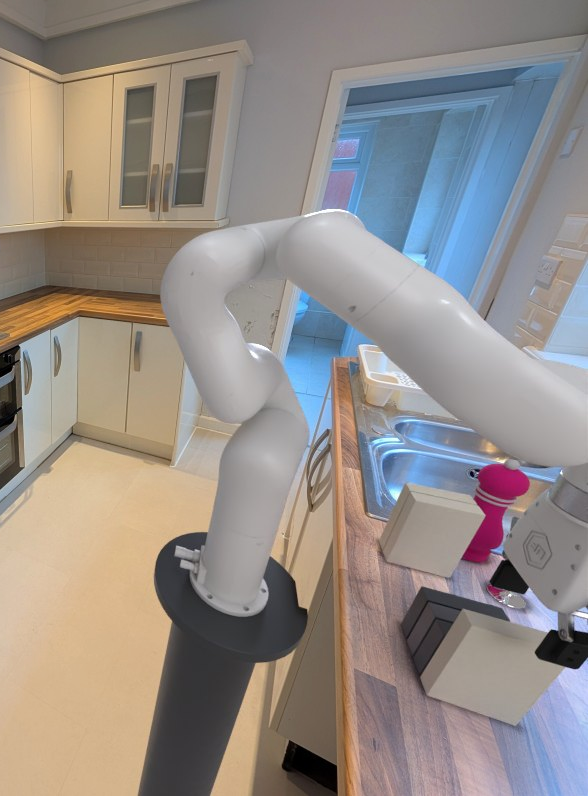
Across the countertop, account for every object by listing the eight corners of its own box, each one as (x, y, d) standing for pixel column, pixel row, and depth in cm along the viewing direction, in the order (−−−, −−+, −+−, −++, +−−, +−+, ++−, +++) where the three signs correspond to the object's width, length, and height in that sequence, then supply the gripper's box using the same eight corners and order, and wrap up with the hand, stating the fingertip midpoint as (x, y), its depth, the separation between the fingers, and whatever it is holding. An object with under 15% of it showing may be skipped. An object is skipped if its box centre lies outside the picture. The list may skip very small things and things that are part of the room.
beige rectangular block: (386, 561, 76) (415, 500, 70) (378, 541, 81) (405, 481, 75) (449, 578, 73) (486, 515, 67) (437, 555, 77) (470, 495, 71)
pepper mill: (447, 557, 77) (498, 467, 68) (431, 530, 83) (475, 444, 74) (499, 569, 74) (558, 478, 66) (478, 540, 81) (529, 453, 72)
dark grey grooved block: (418, 675, 59) (443, 635, 55) (400, 624, 65) (421, 585, 62) (504, 703, 55) (536, 663, 52) (475, 647, 62) (502, 607, 58)
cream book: (426, 695, 56) (471, 625, 50) (419, 677, 58) (462, 608, 52) (515, 726, 53) (575, 655, 47) (505, 706, 55) (561, 636, 49)
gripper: (511, 451, 50) (454, 557, 57) (621, 557, 36) (527, 682, 43) (600, 465, 47) (529, 575, 55) (757, 586, 33) (633, 714, 40)
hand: (528, 622), depth 49 cm, fingers open, 9 cm apart
